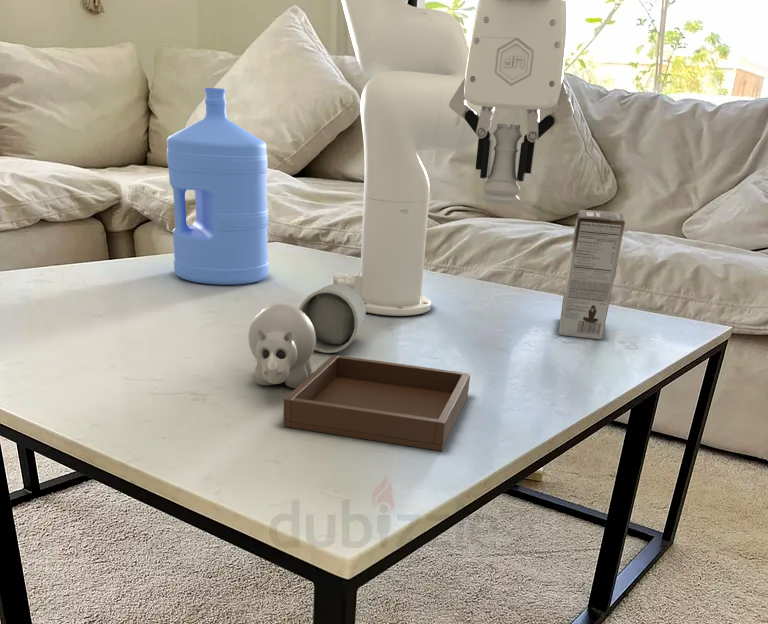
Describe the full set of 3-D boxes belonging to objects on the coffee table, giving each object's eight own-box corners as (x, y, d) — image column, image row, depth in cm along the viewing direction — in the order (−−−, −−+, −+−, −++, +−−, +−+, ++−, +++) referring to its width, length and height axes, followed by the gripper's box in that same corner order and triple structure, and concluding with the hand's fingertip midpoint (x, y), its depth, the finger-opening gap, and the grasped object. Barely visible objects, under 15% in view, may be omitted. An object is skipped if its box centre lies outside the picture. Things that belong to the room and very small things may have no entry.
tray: (283, 426, 75) (283, 399, 74) (332, 378, 89) (332, 354, 87) (441, 451, 72) (444, 423, 71) (467, 397, 86) (470, 373, 84)
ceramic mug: (367, 338, 103) (369, 279, 100) (356, 356, 96) (358, 293, 93) (289, 332, 105) (288, 273, 101) (272, 349, 97) (271, 286, 94)
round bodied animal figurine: (234, 406, 79) (231, 322, 75) (256, 369, 90) (255, 294, 86) (304, 411, 79) (305, 328, 75) (318, 374, 90) (320, 299, 86)
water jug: (254, 265, 141) (251, 90, 128) (280, 284, 129) (279, 92, 116) (166, 267, 135) (154, 83, 122) (184, 287, 123) (172, 85, 110)
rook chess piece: (476, 198, 91) (484, 122, 87) (513, 200, 92) (523, 124, 88) (485, 203, 87) (493, 123, 83) (523, 205, 88) (534, 126, 84)
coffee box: (558, 320, 119) (577, 208, 112) (601, 324, 118) (623, 212, 111) (558, 335, 111) (578, 216, 104) (603, 340, 110) (627, 220, 103)
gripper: (439, -24, 78) (424, 175, 86) (609, -18, 75) (576, 187, 84) (450, -13, 84) (435, 171, 93) (606, -7, 82) (576, 182, 90)
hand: (502, 177), depth 88 cm, fingers closed on rook chess piece, 3 cm apart
